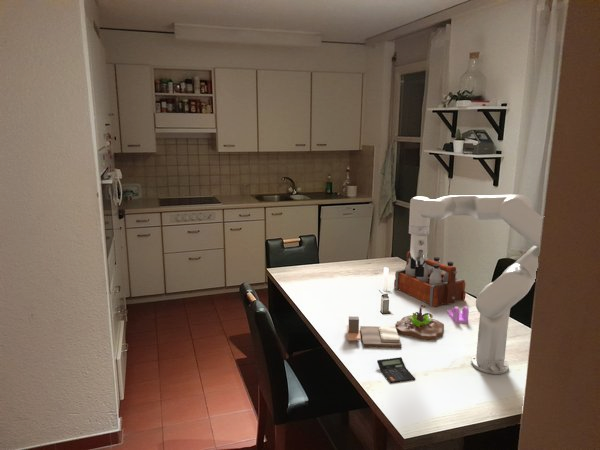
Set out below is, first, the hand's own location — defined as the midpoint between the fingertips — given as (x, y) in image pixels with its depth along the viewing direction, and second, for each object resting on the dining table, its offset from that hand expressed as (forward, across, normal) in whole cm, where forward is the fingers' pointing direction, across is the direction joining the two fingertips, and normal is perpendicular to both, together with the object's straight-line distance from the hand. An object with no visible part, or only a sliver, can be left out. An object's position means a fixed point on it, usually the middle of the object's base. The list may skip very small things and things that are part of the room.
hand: (416, 272), depth 177 cm
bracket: (+31, +29, -25) cm, 49 cm away
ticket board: (+30, +5, +12) cm, 33 cm away
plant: (+31, +15, -6) cm, 35 cm away
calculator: (+31, -22, +10) cm, 39 cm away
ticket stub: (+28, +5, +23) cm, 37 cm away
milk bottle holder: (+31, +58, -18) cm, 68 cm away
